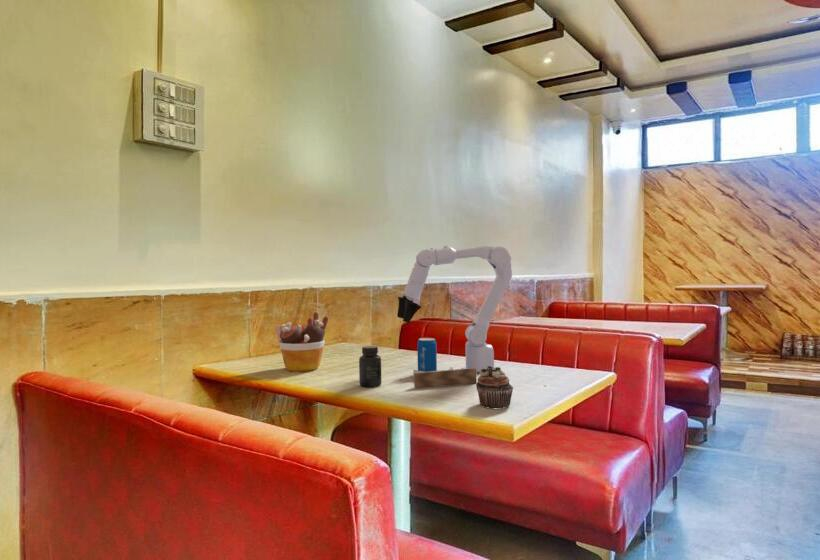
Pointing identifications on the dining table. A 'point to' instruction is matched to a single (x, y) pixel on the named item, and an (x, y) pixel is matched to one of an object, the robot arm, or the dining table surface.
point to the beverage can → (427, 354)
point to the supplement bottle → (370, 367)
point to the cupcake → (494, 388)
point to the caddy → (444, 377)
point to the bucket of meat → (302, 344)
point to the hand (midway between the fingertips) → (402, 319)
